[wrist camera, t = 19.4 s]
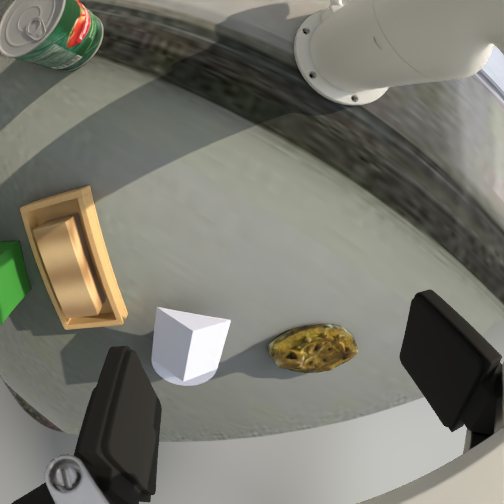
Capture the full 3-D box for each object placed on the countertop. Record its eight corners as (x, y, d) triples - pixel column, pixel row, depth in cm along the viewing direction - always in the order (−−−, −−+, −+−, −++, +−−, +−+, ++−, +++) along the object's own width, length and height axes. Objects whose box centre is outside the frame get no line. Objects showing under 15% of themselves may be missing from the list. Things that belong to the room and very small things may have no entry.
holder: (29, 202, 30) (19, 208, 27) (90, 184, 31) (81, 189, 28) (71, 319, 37) (64, 330, 35) (128, 313, 38) (123, 324, 35)
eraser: (46, 220, 31) (32, 230, 27) (78, 212, 31) (65, 221, 28) (75, 303, 35) (66, 318, 32) (106, 299, 36) (98, 315, 32)
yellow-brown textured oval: (362, 319, 44) (271, 319, 42) (376, 334, 40) (278, 337, 37) (347, 367, 47) (261, 370, 44) (358, 383, 42) (267, 390, 40)
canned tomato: (38, 46, 22) (-13, 29, 12) (85, 2, 21) (46, -32, 11) (64, 85, 25) (12, 74, 15) (115, 38, 24) (78, 7, 14)
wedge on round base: (160, 292, 37) (152, 364, 41) (152, 323, 31) (147, 396, 35) (229, 304, 39) (210, 373, 43) (233, 337, 33) (212, 406, 37)
